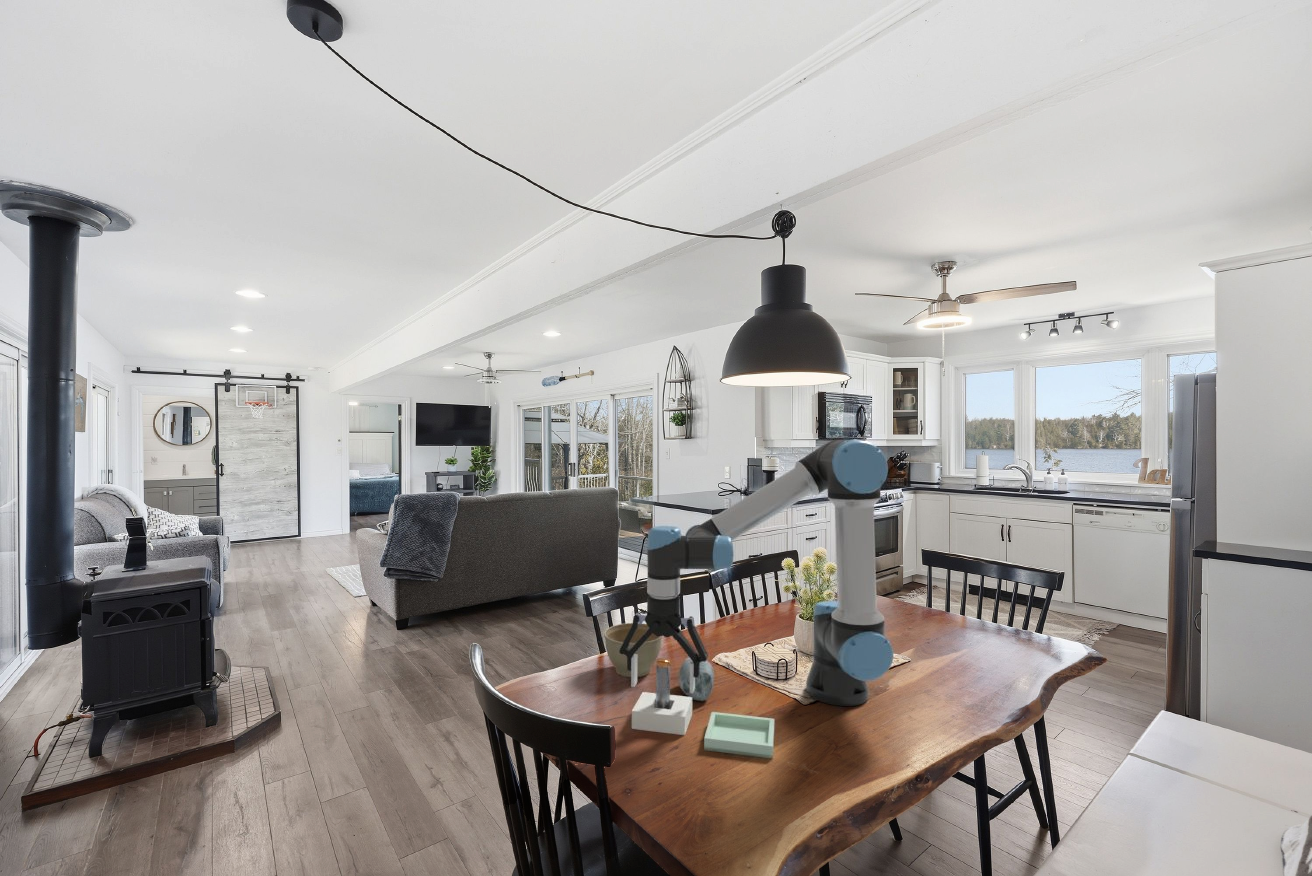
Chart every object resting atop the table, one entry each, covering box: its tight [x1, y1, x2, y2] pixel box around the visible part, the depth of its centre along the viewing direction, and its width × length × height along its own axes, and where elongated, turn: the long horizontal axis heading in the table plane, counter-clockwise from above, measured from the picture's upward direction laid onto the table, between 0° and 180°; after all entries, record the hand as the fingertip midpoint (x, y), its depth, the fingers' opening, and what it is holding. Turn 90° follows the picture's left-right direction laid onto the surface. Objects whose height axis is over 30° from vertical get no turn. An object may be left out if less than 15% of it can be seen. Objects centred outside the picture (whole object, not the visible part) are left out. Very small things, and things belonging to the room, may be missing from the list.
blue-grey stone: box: [677, 656, 715, 702], centre depth 151 cm, size 14×10×10 cm
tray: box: [703, 711, 775, 760], centre depth 127 cm, size 14×12×2 cm
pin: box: [655, 657, 671, 709], centre depth 135 cm, size 3×3×14 cm
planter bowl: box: [603, 622, 663, 678], centre depth 164 cm, size 16×16×11 cm
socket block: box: [631, 691, 693, 736], centre depth 135 cm, size 12×10×4 cm
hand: (662, 687), depth 135 cm, fingers open, 13 cm apart
